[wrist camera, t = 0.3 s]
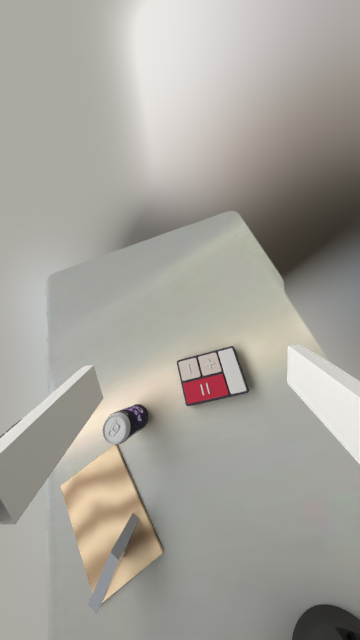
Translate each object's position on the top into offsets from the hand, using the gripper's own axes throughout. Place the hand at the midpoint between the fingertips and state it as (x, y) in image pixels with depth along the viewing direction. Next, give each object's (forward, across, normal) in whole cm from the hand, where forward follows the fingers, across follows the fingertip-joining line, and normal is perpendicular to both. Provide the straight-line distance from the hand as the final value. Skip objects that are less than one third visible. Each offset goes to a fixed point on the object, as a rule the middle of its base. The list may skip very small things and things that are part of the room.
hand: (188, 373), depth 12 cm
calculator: (+29, -3, +20) cm, 36 cm away
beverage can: (+25, +17, +27) cm, 40 cm away
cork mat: (+14, +24, +43) cm, 51 cm away
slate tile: (+12, +19, +45) cm, 50 cm away
